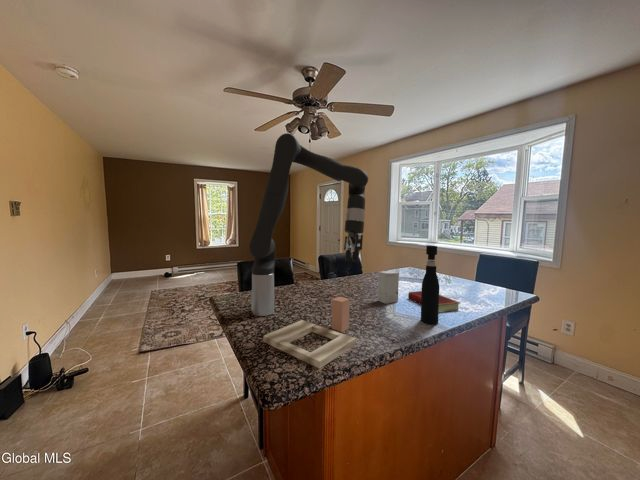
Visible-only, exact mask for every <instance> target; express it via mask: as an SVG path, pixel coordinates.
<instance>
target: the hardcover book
mask: <svg viewBox="0 0 640 480" xmlns="http://www.w3.org/2000/svg"><path fill="white" fill-rule="evenodd" d="M421 294H422V290H420V291H408V295H407V297H408V300H410V301H413V302H415V303H417V304H419V305H421ZM460 304H461V302H460V301H457V300H454V299H452V298H449V297H448V296H447V297H446V296H444V295H441V294H439V313H442V312H444V313H445V312H451V311H453V312H454V311H458V310H459V305H460Z"/></svg>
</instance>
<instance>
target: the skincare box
mask: <svg viewBox="0 0 640 480" xmlns="http://www.w3.org/2000/svg"><path fill="white" fill-rule="evenodd" d="M399 273H400V272H397V271H393V270H386V271H385V270H384V271H378V285H377V286H378V289H377V290H378V291H377V292H378V293H377V301H379V302H380V303H383V304H385V305H386V304H393V303H398V302H399V281H400V274H399Z"/></svg>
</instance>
